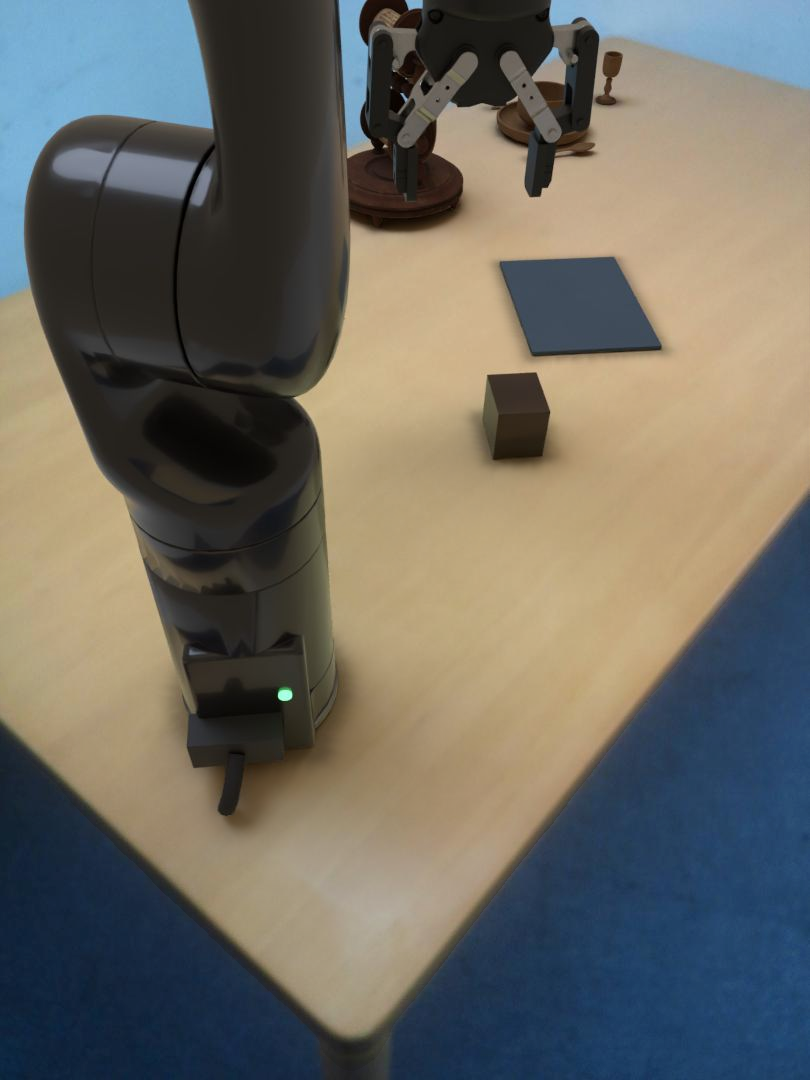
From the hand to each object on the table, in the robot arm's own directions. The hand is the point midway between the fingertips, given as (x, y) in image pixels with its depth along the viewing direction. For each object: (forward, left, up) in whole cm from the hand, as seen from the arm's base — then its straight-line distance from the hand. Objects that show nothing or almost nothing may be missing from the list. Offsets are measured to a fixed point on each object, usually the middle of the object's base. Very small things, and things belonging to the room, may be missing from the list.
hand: (471, 194), depth 60 cm
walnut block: (-4, -4, -18) cm, 19 cm away
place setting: (+57, -24, -18) cm, 64 cm away
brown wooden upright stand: (+38, +1, -18) cm, 42 cm away
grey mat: (+15, -14, -18) cm, 27 cm away
